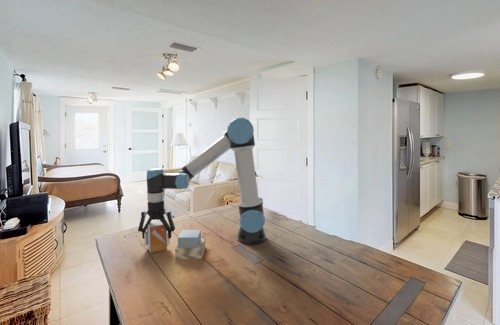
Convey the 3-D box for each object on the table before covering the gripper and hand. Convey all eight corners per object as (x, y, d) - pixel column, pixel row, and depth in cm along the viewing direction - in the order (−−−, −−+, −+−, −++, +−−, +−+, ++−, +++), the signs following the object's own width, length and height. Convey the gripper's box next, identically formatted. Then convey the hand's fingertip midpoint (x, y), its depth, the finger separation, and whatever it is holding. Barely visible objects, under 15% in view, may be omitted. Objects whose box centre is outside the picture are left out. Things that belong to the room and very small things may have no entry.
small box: (150, 253, 122) (149, 227, 120) (147, 248, 127) (146, 223, 125) (167, 249, 126) (166, 223, 125) (164, 244, 131) (163, 220, 130)
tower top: (200, 239, 127) (200, 230, 126) (197, 247, 118) (197, 237, 117) (182, 239, 127) (182, 230, 126) (178, 247, 118) (177, 237, 117)
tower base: (205, 247, 129) (205, 238, 129) (201, 259, 117) (201, 249, 117) (181, 247, 129) (181, 238, 128) (175, 259, 117) (175, 249, 116)
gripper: (181, 198, 128) (182, 241, 130) (135, 198, 127) (137, 241, 129) (177, 202, 120) (178, 247, 123) (128, 202, 119) (130, 248, 122)
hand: (157, 244), depth 126 cm, fingers closed on small box, 10 cm apart
